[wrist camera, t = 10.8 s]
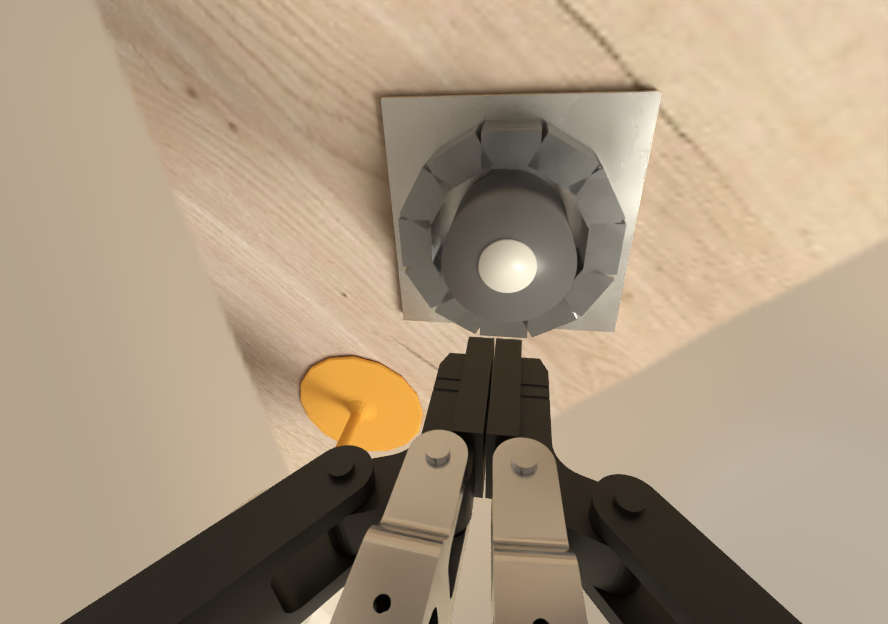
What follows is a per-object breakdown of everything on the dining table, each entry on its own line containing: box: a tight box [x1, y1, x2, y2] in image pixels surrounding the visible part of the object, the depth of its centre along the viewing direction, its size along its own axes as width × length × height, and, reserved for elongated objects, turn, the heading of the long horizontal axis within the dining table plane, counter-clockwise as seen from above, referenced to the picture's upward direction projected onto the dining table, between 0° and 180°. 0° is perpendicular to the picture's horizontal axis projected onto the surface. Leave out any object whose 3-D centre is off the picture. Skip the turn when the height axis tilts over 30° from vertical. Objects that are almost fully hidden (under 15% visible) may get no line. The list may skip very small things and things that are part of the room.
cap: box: [441, 171, 577, 323], centre depth 20 cm, size 6×6×5 cm
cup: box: [231, 356, 423, 624], centre depth 25 cm, size 9×9×16 cm
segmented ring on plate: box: [381, 90, 662, 338], centre depth 22 cm, size 12×12×3 cm
